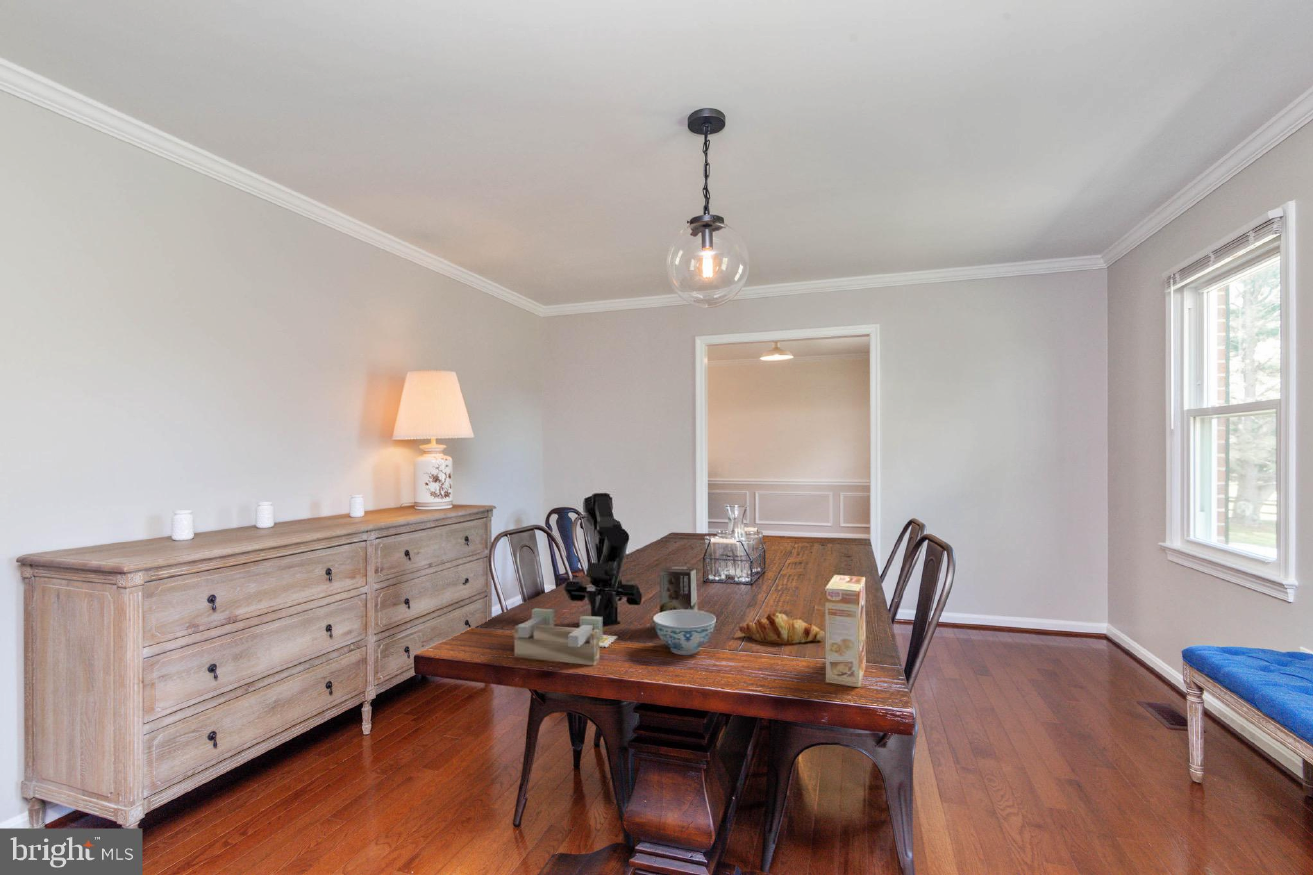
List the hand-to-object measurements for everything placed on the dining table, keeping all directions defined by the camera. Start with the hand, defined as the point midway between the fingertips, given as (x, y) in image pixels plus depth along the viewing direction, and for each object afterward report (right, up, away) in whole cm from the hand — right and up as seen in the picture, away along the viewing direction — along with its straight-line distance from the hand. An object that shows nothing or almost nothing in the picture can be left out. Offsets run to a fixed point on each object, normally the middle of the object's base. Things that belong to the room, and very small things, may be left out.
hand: (593, 623), depth 146 cm
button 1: (-14, -3, +1) cm, 15 cm away
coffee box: (+21, -8, +20) cm, 29 cm away
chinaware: (+21, -7, +3) cm, 23 cm away
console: (-8, -7, -3) cm, 11 cm away
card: (-2, -7, +10) cm, 13 cm away
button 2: (-2, -3, -5) cm, 7 cm away
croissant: (+46, -8, +10) cm, 48 cm away
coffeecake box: (+56, -7, -13) cm, 58 cm away
